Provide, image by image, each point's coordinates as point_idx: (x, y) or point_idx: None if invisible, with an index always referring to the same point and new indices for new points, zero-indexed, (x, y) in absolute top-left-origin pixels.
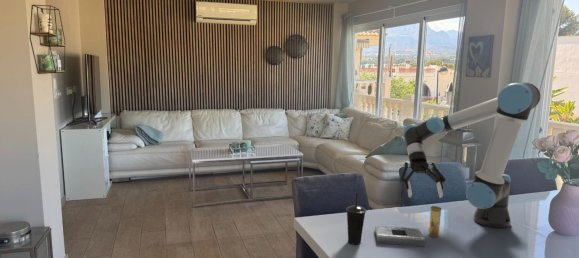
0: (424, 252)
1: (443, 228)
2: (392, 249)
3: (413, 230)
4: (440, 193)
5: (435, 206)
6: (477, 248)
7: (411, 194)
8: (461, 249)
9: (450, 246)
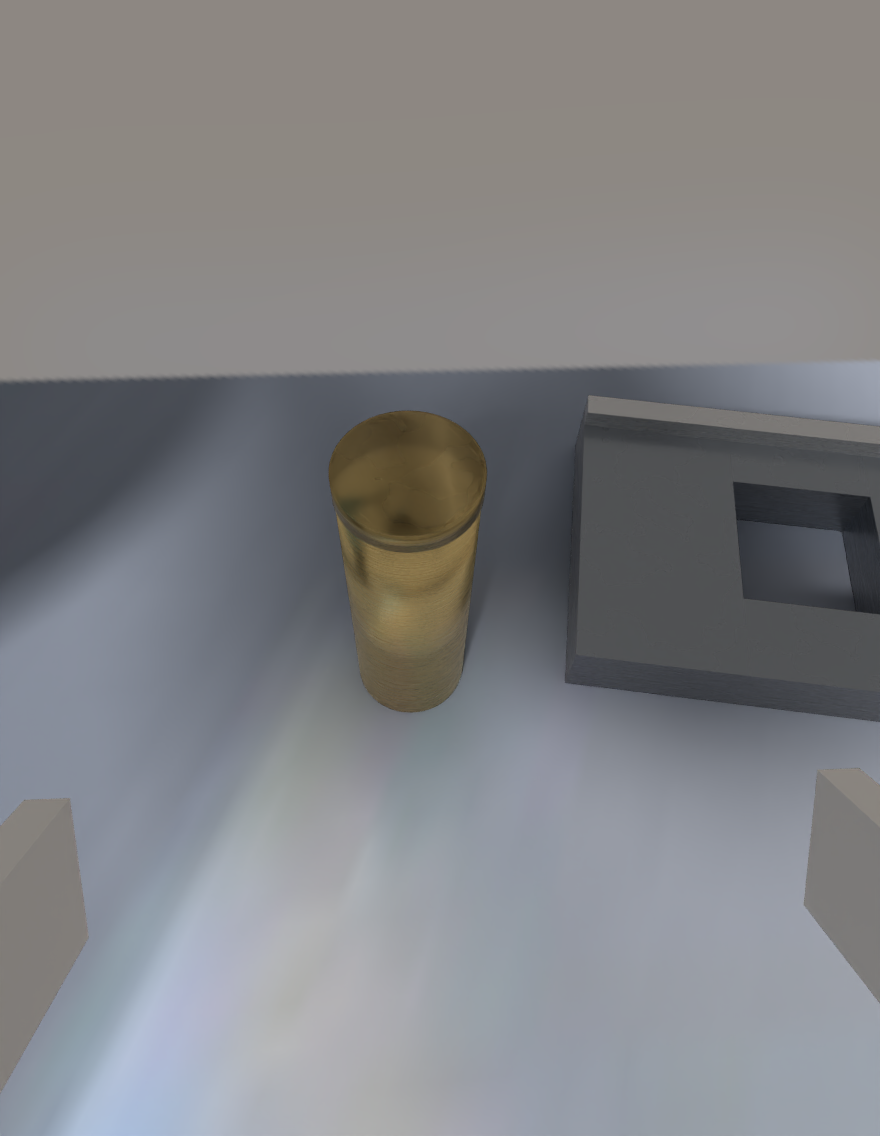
0: (598, 367)
1: (196, 880)
2: (837, 399)
3: (651, 604)
4: (45, 876)
5: (392, 519)
6: (134, 432)
7: (840, 772)
8: (282, 414)
9: None
